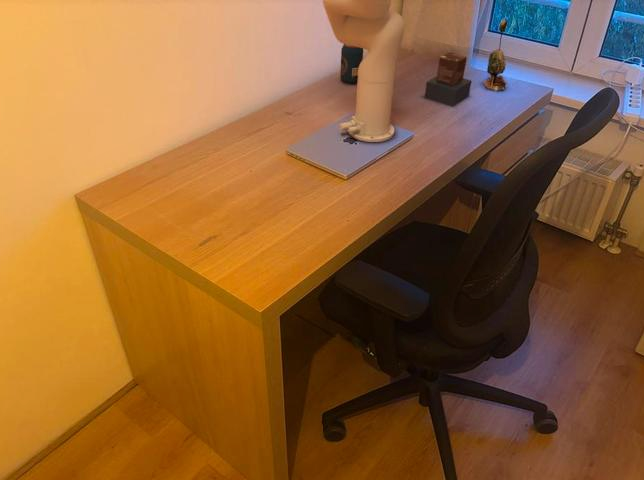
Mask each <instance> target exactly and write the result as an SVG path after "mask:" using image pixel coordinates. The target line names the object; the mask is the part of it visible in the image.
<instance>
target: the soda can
mask: <svg viewBox="0 0 644 480" xmlns="http://www.w3.org/2000/svg"><path fill="white" fill-rule="evenodd" d="M340 50H341V51H340V53H341V56H340V72H339V73H340V74H339V79H340V80H341V82H342V83H343V84H344V85H348V86H354V85H357V83H358V69H359V65H360V63H361V61H362V60H363V59H364V49H363V48H359V47H355V46H350V45H346V44H343V45H342V46H341V49H340Z"/></svg>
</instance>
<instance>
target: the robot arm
mask: <svg viewBox="0 0 644 480" xmlns="http://www.w3.org/2000/svg"><path fill="white" fill-rule="evenodd" d="M322 4H323V7H324V11H325V14H326V16H327V19H328V21H329V24H330V27H331V30H332V32H333V35H334V37H335V38H336V40H337V41H338V42H339V43H341V44H343V45H344V44H346V45H350V46H355V47H359V48H363V50H366V51H368V53H367V54H366V56H364V57H363V60H362V61H361V63H360V65H359V69H358V83H357V84H356V97H355V98H356V99H355V100H356V101H355V111H354V112H355V114H354V115H351V119H350V120H348V121H346V122H342V123H341V122H340V123H339V124H338V129H339V131H340V132H342V131H347V133H348V134H349V135H350V136H351V137H353V139H356V140H358V141H361V142H366V143H382V142H385V141H388V140H391V139H392V138H393V137H394V136H395V127H394V126H393V124H391V116H392V115H391V114H392V107H393V97H394V88H395V81H396V80H395V79H396V72H397V63H398V56H399V53H400V48H401V45H402V41H403V37H404V33H405V25H406V24H405V20H404V18H403V17H402V15H401V14H400V13H398V12H396V11H394V10H392V9H390V8H391V5H392V0H322Z"/></svg>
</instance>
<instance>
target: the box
mask: <svg viewBox="0 0 644 480" xmlns="http://www.w3.org/2000/svg"><path fill="white" fill-rule="evenodd" d="M467 60H468V56H465V55H462V54H458V53H455V52H451V51H450V52H448V53H447V52H446V53H445V54H443V55H441V56H439V60H438V65H437V66H438V68H437V73H436V76H437V80H436V81H439V82H442V83H446V84H449V85H452V86H453V85H455V84H457V83H459V82H461V81H462V80H463V78H464V76H465V70H466V65H467Z"/></svg>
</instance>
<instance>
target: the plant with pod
mask: <svg viewBox="0 0 644 480" xmlns="http://www.w3.org/2000/svg"><path fill="white" fill-rule="evenodd" d="M507 25H508V18H503V19H502V21H501V22H500V23H499V25H498V30H499V32H500V37H499V38H500V39H499V48H497V49H494V50H492V51H491V50H489V51H491V52H490V54H489V57H488V63H487V69H486V72H487V74H489V76H490V77H488V78H487V79H485V80H484V81H482V83H483V85H484V87H485V88H486V89H488V90H491V91H498V92H499V91H504V90H505V89H506V88H507V87H508V83H507V81H505V80H504V76H503V75H502V74H504V72H505V71H506V65H507V63H506V56H505V54H504V51H503V50H501V45H502V36H503V33H504V32H505V31H506V28H507Z"/></svg>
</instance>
